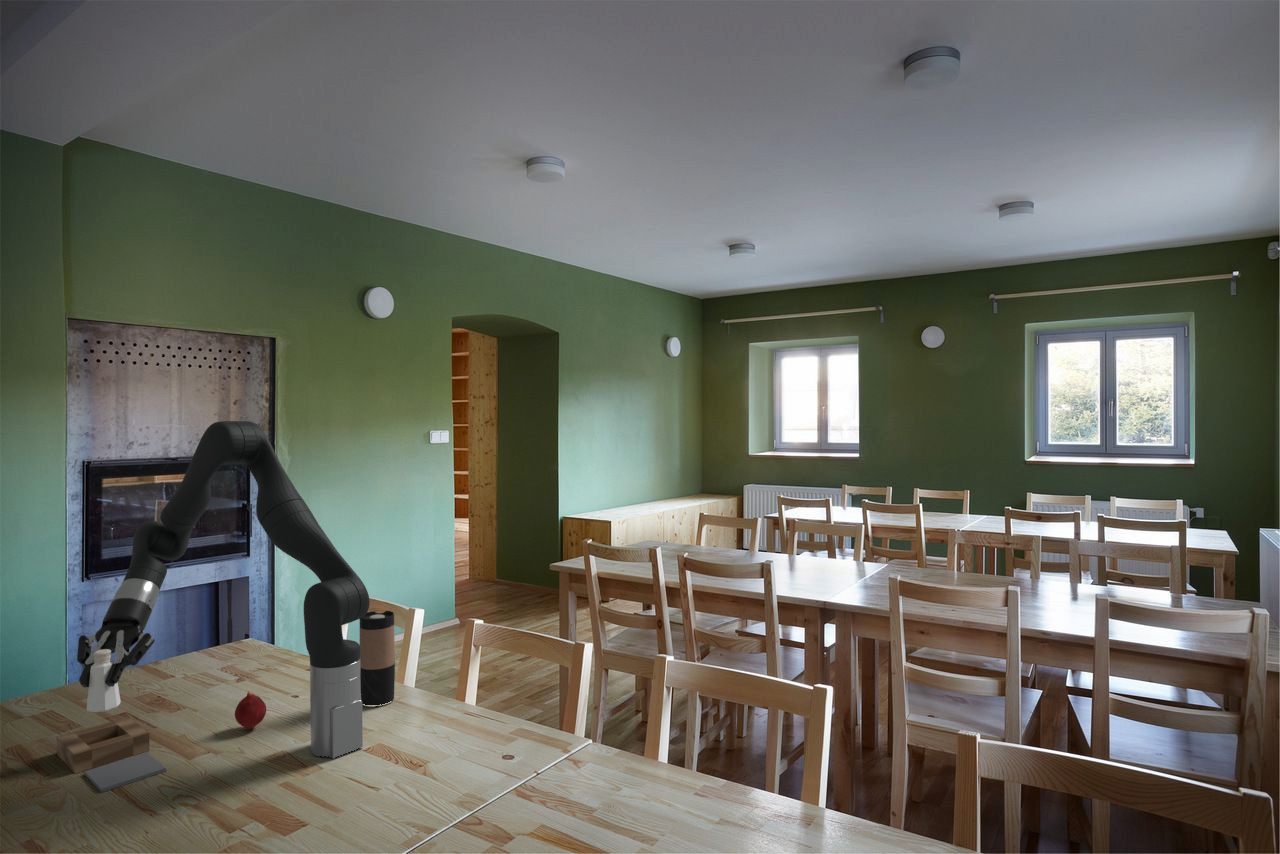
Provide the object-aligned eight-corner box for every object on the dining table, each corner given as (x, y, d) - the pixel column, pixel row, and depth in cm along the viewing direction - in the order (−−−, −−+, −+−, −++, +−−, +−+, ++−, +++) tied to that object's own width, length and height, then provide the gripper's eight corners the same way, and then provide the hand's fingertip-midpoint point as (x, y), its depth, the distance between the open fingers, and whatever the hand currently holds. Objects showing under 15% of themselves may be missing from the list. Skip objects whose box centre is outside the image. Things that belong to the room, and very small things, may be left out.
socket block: (149, 750, 146) (149, 732, 146) (74, 773, 137) (74, 754, 137) (129, 733, 154) (128, 717, 154) (56, 754, 144) (56, 736, 144)
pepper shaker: (122, 707, 145) (121, 651, 145) (88, 715, 141) (86, 657, 141) (118, 699, 149) (117, 644, 149) (85, 706, 145) (83, 650, 145)
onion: (272, 723, 159) (271, 686, 158) (255, 735, 153) (255, 696, 153) (246, 722, 159) (245, 685, 159) (228, 734, 153) (228, 695, 153)
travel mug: (372, 710, 165) (371, 621, 165) (353, 702, 170) (352, 615, 170) (402, 700, 171) (401, 613, 171) (382, 692, 176) (381, 608, 176)
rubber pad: (166, 771, 138) (165, 767, 138) (101, 792, 130) (101, 789, 130) (147, 755, 144) (147, 752, 144) (84, 774, 136) (84, 771, 136)
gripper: (87, 597, 152) (47, 678, 140) (161, 595, 153) (127, 674, 141) (104, 616, 157) (66, 695, 145) (175, 614, 158) (144, 692, 146)
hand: (97, 684), depth 143 cm, fingers closed on pepper shaker, 4 cm apart
